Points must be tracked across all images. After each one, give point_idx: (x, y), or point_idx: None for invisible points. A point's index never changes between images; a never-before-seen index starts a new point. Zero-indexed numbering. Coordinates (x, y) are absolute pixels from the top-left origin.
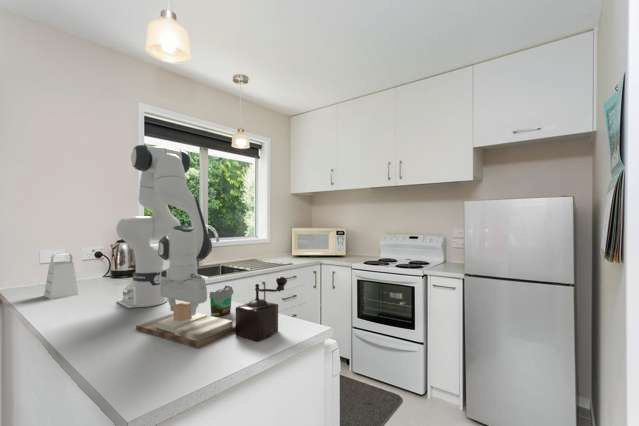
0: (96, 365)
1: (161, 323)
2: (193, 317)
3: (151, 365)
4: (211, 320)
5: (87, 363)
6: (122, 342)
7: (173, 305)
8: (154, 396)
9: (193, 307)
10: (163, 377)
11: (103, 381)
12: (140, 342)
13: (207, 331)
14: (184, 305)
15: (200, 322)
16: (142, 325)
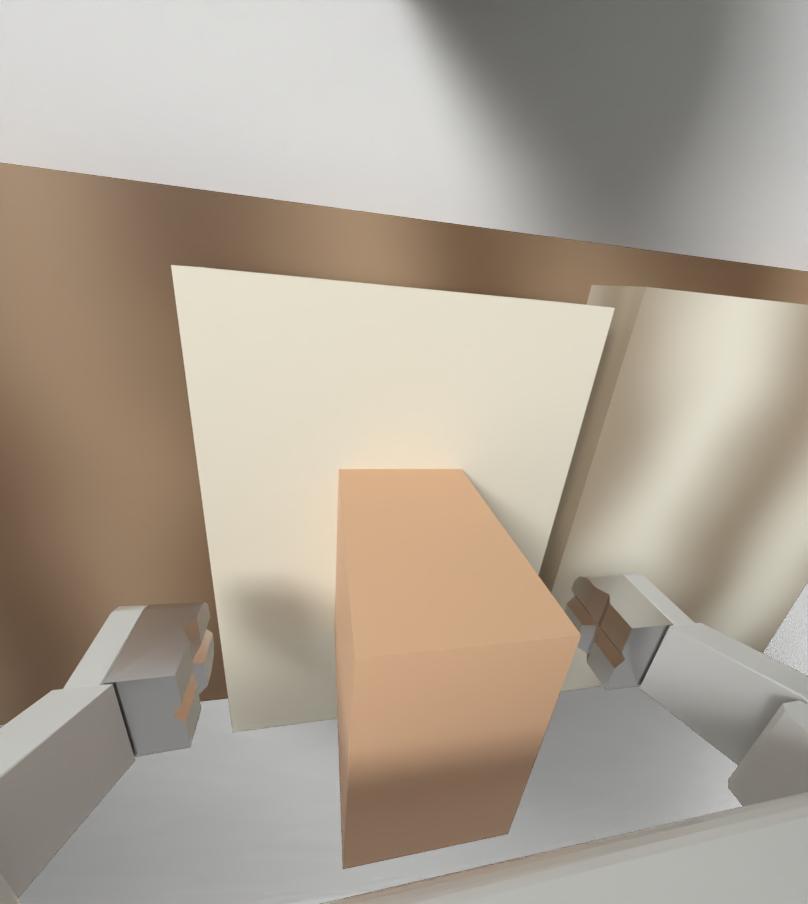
0: (387, 863)
1: (313, 718)
2: (493, 470)
3: (587, 768)
4: (740, 424)
5: (335, 878)
6: (217, 784)
7: (121, 733)
8: (709, 800)
9: (748, 731)
10: (680, 768)
11: (518, 856)
12: (320, 735)
13: (789, 605)
14: (526, 760)
15: (652, 520)
16: (19, 702)
